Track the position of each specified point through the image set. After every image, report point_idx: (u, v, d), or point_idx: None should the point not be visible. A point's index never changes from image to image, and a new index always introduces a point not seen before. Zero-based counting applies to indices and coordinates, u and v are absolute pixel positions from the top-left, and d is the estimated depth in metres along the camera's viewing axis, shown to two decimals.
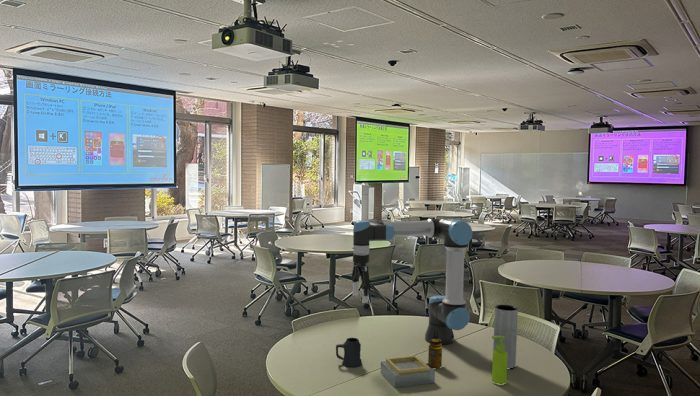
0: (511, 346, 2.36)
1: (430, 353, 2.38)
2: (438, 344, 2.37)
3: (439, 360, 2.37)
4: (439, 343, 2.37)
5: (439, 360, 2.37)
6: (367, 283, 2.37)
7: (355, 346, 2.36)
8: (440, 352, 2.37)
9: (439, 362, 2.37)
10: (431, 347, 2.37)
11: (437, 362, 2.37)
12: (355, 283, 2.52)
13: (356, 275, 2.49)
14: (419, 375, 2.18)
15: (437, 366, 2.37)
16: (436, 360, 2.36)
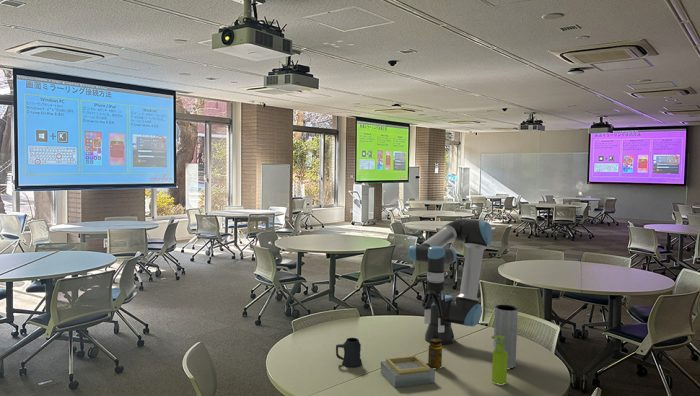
0: (511, 346, 2.36)
1: (430, 353, 2.38)
2: (438, 344, 2.37)
3: (439, 360, 2.37)
4: (439, 343, 2.37)
5: (439, 360, 2.37)
6: (444, 312, 2.29)
7: (355, 346, 2.36)
8: (440, 352, 2.37)
9: (439, 362, 2.37)
10: (431, 347, 2.37)
11: (437, 362, 2.37)
12: (427, 310, 2.44)
13: (429, 302, 2.41)
14: (419, 375, 2.18)
15: (437, 366, 2.37)
16: (436, 360, 2.36)
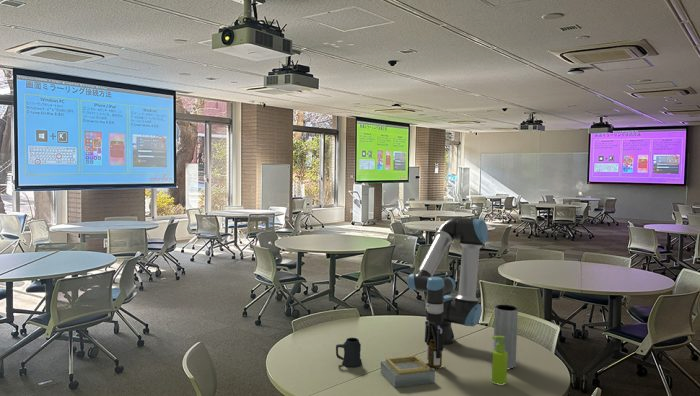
0: (511, 346, 2.36)
1: (430, 352, 2.38)
2: None
3: None
4: None
5: None
6: (440, 346, 2.32)
7: (355, 346, 2.36)
8: (440, 352, 2.37)
9: None
10: (431, 347, 2.37)
11: None
12: None
13: (430, 335, 2.40)
14: (419, 375, 2.18)
15: (437, 366, 2.37)
16: None
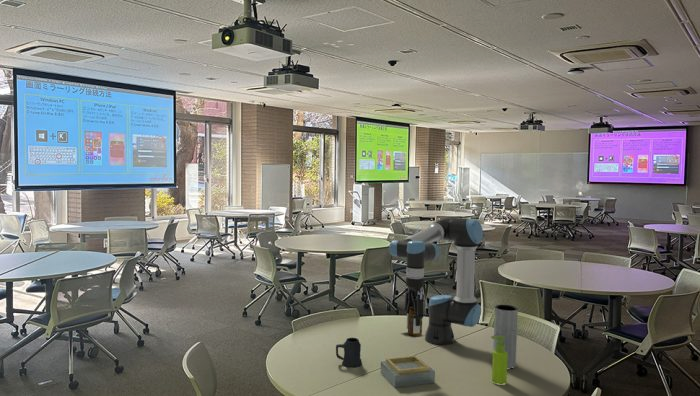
0: (511, 346, 2.36)
1: (409, 320, 2.25)
2: None
3: None
4: None
5: None
6: (420, 313, 2.20)
7: (355, 346, 2.36)
8: (420, 320, 2.24)
9: None
10: (411, 314, 2.25)
11: None
12: None
13: (410, 303, 2.28)
14: (419, 375, 2.18)
15: (417, 334, 2.24)
16: None
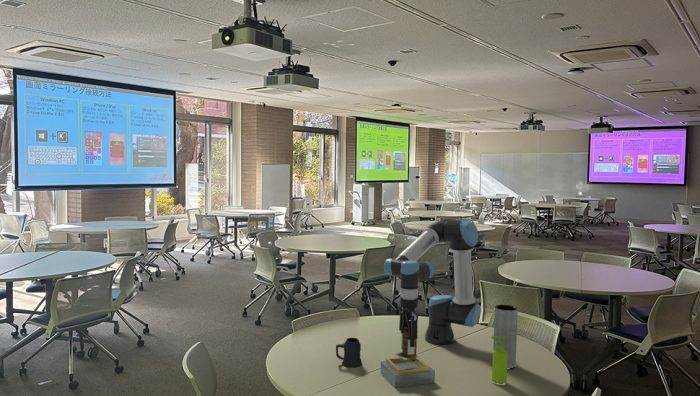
0: (511, 346, 2.36)
1: (404, 341, 2.23)
2: None
3: None
4: None
5: (414, 349, 2.22)
6: (414, 334, 2.18)
7: (355, 346, 2.36)
8: (415, 340, 2.23)
9: None
10: (405, 335, 2.23)
11: None
12: None
13: (404, 323, 2.26)
14: (419, 375, 2.18)
15: (411, 355, 2.22)
16: None
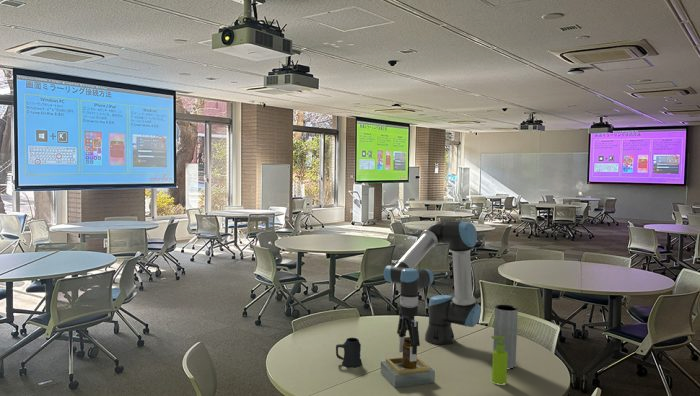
0: (511, 346, 2.36)
1: (404, 352, 2.23)
2: None
3: None
4: None
5: None
6: (416, 341, 2.16)
7: (355, 346, 2.36)
8: None
9: (413, 362, 2.23)
10: (405, 346, 2.23)
11: (411, 362, 2.22)
12: (402, 338, 2.29)
13: (403, 328, 2.27)
14: (419, 375, 2.18)
15: (411, 366, 2.23)
16: None
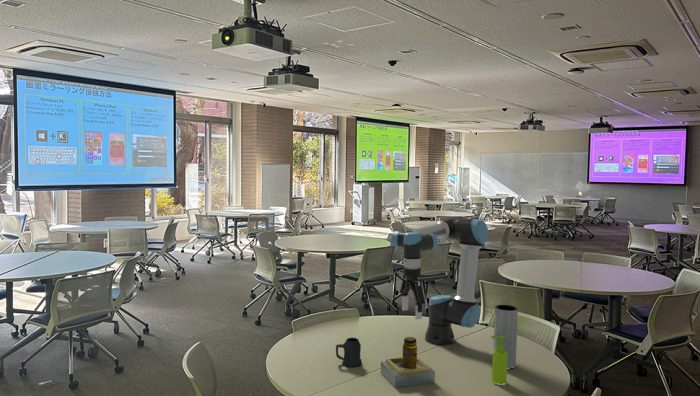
0: (511, 346, 2.36)
1: (404, 352, 2.23)
2: (413, 343, 2.22)
3: (413, 360, 2.23)
4: (413, 342, 2.23)
5: (414, 360, 2.23)
6: (421, 299, 2.25)
7: (355, 346, 2.36)
8: (415, 351, 2.23)
9: (413, 362, 2.23)
10: (405, 346, 2.23)
11: (411, 362, 2.22)
12: (405, 297, 2.40)
13: (406, 289, 2.37)
14: (419, 375, 2.18)
15: (411, 366, 2.23)
16: (411, 360, 2.22)
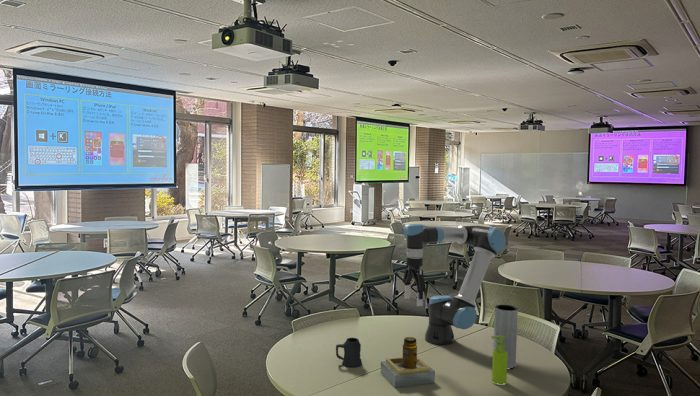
0: (511, 346, 2.36)
1: (404, 352, 2.23)
2: (413, 343, 2.22)
3: (413, 360, 2.23)
4: (413, 342, 2.23)
5: (414, 360, 2.23)
6: (422, 286, 2.38)
7: (355, 346, 2.36)
8: (415, 351, 2.23)
9: (413, 362, 2.23)
10: (405, 346, 2.23)
11: (411, 362, 2.22)
12: (407, 286, 2.53)
13: (408, 278, 2.51)
14: (419, 375, 2.18)
15: (411, 366, 2.23)
16: (411, 360, 2.22)
